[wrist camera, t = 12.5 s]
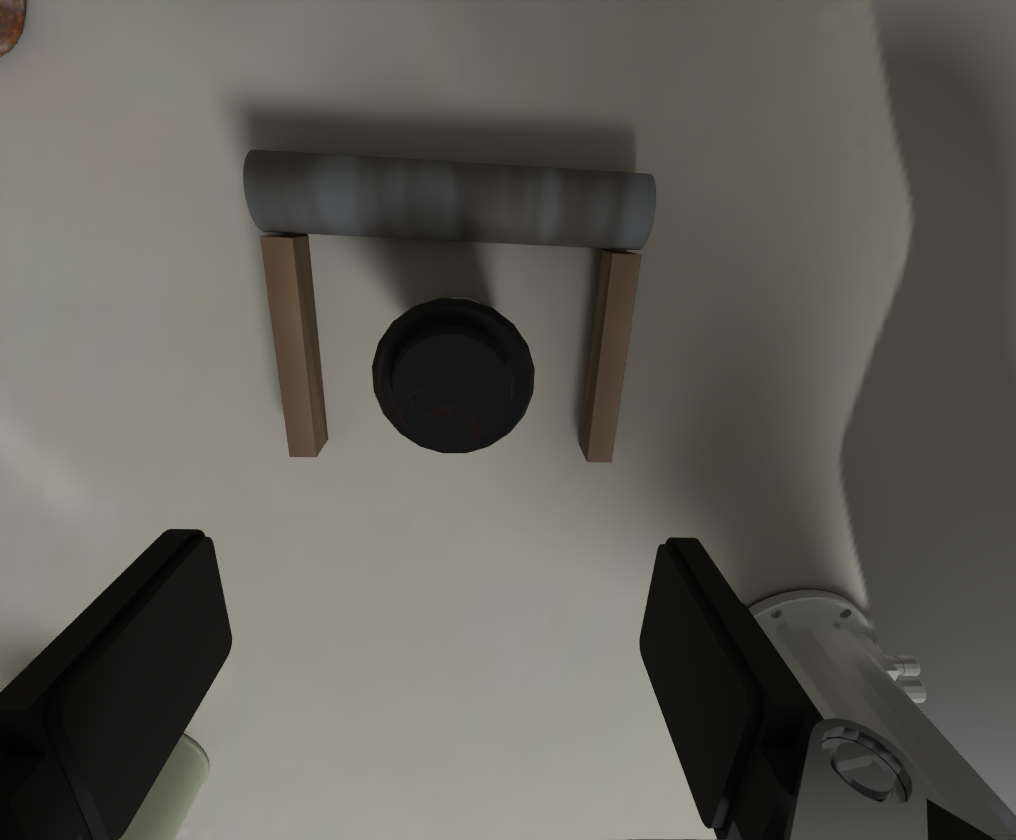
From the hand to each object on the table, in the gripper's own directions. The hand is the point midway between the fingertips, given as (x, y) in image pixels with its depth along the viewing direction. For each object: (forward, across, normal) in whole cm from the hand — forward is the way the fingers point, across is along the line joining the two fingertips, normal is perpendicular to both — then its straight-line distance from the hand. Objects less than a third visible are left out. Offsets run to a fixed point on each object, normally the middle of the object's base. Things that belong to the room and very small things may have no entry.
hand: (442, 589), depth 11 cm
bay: (+20, +1, -2) cm, 21 cm away
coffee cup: (+21, 0, -1) cm, 21 cm away
